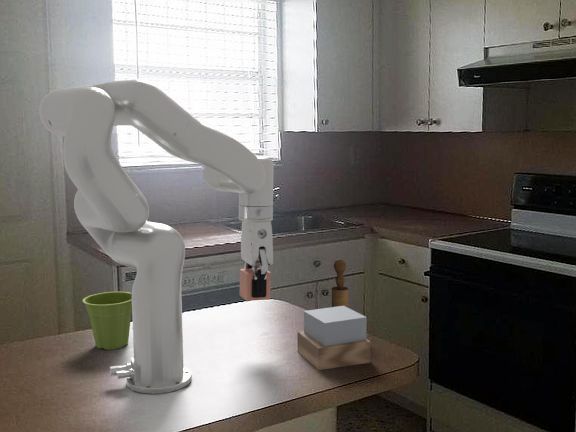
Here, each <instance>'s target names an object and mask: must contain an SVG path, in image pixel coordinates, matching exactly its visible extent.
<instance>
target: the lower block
mask: <svg viewBox="0 0 576 432" xmlns="http://www.w3.org/2000/svg"><path fill="white" fill-rule="evenodd" d="M371 345H372V342H371V341H370V340H369V339H367V338H366V340H362V341H356V342H350V343H343V344H337V345H331V346H323V345H322V344H320V343H319V342H317V341H316V340H314V339H312V338H311V337H309V336H308V335H306V334H305V333H304V330H297V353H299V354H300V355H301V356H302V357H303V358H305V360H306V361H308V362H309V363H310V364H311V365H312V366H313V367H314V368H315V369H317V370H318V371H320V370H328V369H334V368H341V367H348V366H356V365H362V364H369V363H371V354H372V353H371V352H372V351H371V350H372V349H371V348H372V347H371Z"/></svg>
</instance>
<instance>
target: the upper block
mask: <svg viewBox="0 0 576 432" xmlns="http://www.w3.org/2000/svg"><path fill="white" fill-rule="evenodd" d="M367 319H368V318H367V316H365V315H363V314H361V313H360V312H357V311H356V310H353V309H352V308H349V307H348V308H347V307H345V306H338V307H332V306H330V307H324V308H317V309H316V308H315V309H309V310H303V331H304V333H305V334H306V335H308V336H309V337H311V338H312V339H314V340H316V341H317V342H319V343H320V344H322V345H323V346H331V345H337V344H343V343H350V342H356V341H362V340H366V339H367V328H368V327H367V322H368V321H367Z"/></svg>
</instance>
